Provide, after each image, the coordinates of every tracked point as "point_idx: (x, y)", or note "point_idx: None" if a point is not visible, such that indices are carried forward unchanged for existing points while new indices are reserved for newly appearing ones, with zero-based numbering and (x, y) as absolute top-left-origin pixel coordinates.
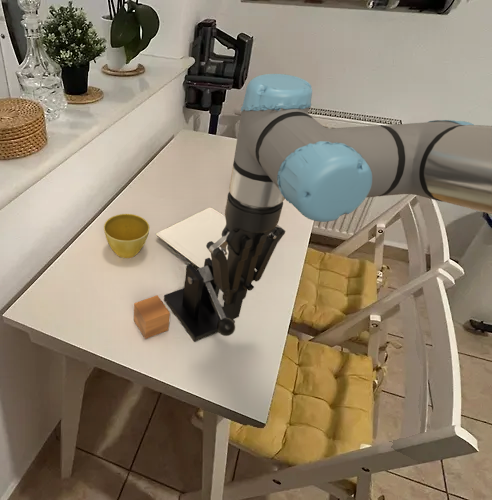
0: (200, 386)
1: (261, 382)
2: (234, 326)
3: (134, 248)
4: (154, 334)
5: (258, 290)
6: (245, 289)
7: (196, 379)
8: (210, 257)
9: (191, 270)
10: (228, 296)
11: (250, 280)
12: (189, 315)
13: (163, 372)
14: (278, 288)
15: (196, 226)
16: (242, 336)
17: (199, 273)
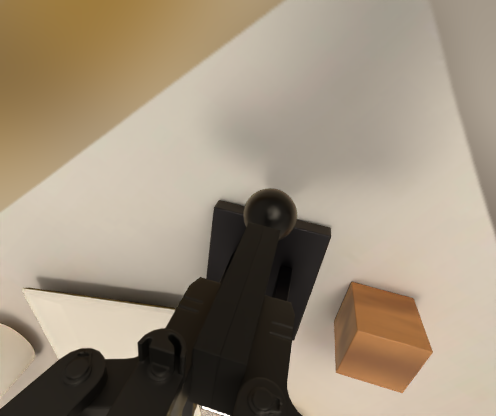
0: (436, 129)
1: (291, 28)
2: (255, 201)
3: None
4: (390, 294)
5: (108, 226)
6: (180, 328)
7: (424, 151)
8: (145, 331)
9: None
10: (289, 358)
11: (131, 399)
12: (291, 280)
13: (468, 217)
14: (66, 203)
15: None
16: (223, 167)
17: None
